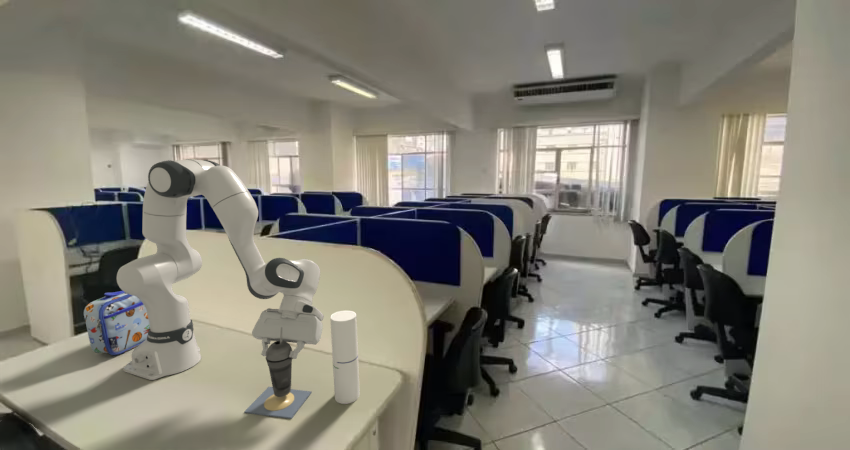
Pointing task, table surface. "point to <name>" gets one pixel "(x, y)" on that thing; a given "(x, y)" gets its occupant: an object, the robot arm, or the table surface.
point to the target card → (278, 403)
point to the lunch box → (116, 323)
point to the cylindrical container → (345, 356)
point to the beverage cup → (280, 366)
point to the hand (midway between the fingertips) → (278, 357)
